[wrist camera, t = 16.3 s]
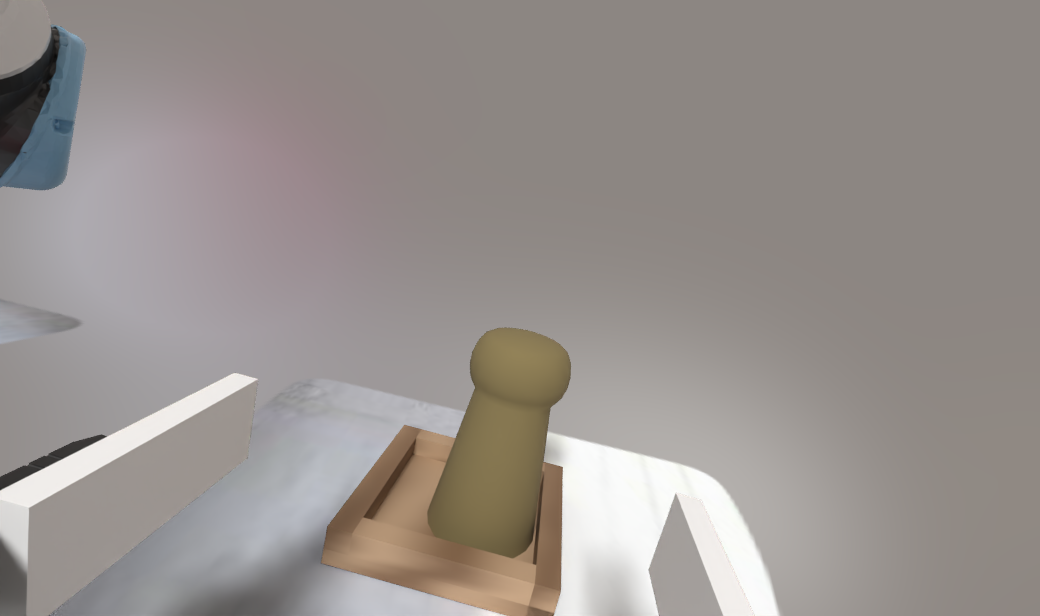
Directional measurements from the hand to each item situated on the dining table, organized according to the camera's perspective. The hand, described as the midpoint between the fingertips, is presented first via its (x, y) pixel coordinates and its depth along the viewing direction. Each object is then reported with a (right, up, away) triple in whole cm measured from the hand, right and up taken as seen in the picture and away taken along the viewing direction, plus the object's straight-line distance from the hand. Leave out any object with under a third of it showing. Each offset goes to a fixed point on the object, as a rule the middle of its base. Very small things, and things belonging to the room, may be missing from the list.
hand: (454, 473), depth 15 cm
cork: (0, -7, +12) cm, 14 cm away
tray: (-1, -7, +13) cm, 15 cm away
